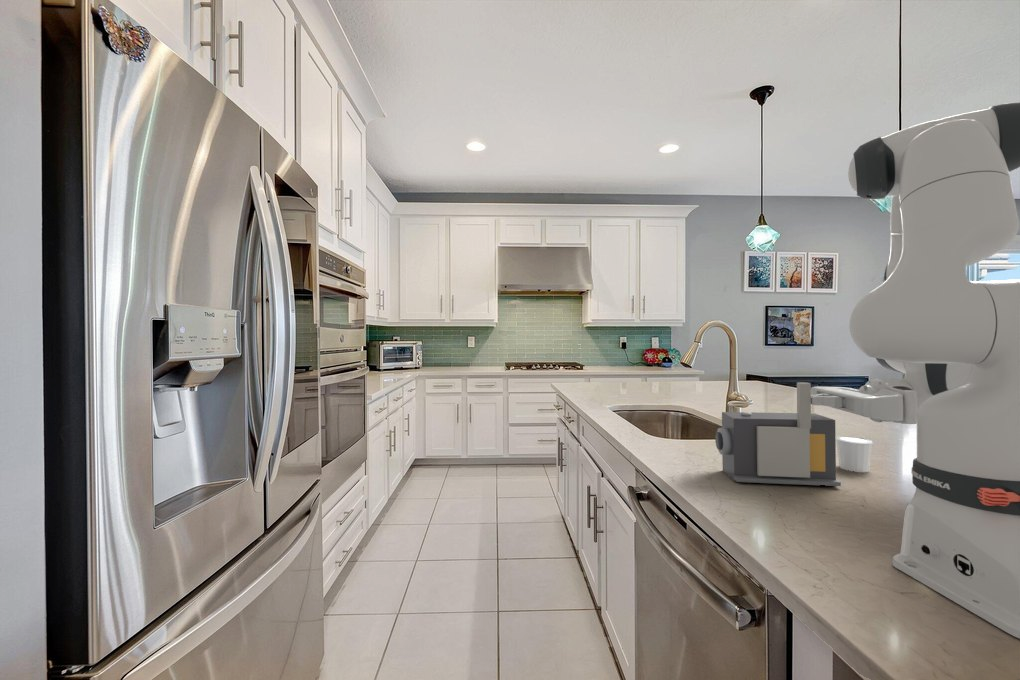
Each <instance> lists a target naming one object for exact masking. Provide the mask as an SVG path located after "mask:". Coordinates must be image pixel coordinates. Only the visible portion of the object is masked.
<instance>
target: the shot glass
mask: <svg viewBox="0 0 1020 680" xmlns="http://www.w3.org/2000/svg"><path fill="white" fill-rule="evenodd" d="M835 438H836V448H837V449H836V450H837V458H838V466H839V468H840V469H842V470H845V471H848V470H849V471H848V472H853V471H854V473H869V472H870V470H871V469H870V468H871V461H872V450H873V440H871V439H867V438H863V437H855V436H835Z"/></svg>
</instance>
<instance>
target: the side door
mask: <svg viewBox="0 0 1020 680" xmlns="http://www.w3.org/2000/svg"><path fill="white" fill-rule="evenodd" d="M811 384H812V383H811V382H796V413H797V427H774V426H757V475H759V476H781V477H807V478H810V429H811V413H812V404H811V388H812V385H811Z"/></svg>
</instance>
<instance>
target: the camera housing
mask: <svg viewBox="0 0 1020 680" xmlns="http://www.w3.org/2000/svg"><path fill="white" fill-rule="evenodd" d="M757 426H774V427H797V412H757V411H756V412H751V411H750V412H749V411H722V412H721V427H718V428H717V430H716V433H715V435H714V438H715V441H714V442H715V446H716V449H717V450H718V453H719V454H720V455H721V456H722V458H721V459H722V462H721V463H722V471H723V473H725V475H727V476H728V477H729V478H730V479H731V481H733V482H734V483H755V484H776V485H777V484H780V485H796V486H797V485H799V486H800V485H801V486H805V485H806V486H820V485H825V486H826V487H841V486H842V485H841V484H842V483H841V481H839V480H838V479H837V463H836V462H837V459H836V457H837V455H836V452H837V451H836V450H837V449H836V448H837V442H836V419H833V418H830V417H827V416H824V415H821V414H819V413H815V412H813V413H812V412H811V429H810V478H807V477H781V476H759V475H757ZM825 486H824V487H825Z"/></svg>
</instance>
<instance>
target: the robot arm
mask: <svg viewBox="0 0 1020 680" xmlns="http://www.w3.org/2000/svg"><path fill="white" fill-rule="evenodd" d="M852 154H853V155H852V158H851V161H850V162H849V166H848V172H847V173H848V182H849V185H850V186H851V188H852V190H853V191H854V192H855V193H856V196H858V197H860V198H862V199H863V200H884V199H886V197H891V202H890V203H891V205H890V215H889V229H890V232H889V233H890V254H889V259H888V262H887V263H886V267H885V268H884V269H885V270H884V275H883V282H882V284H881V285H879V286H877V287H876V288H875V289H873V290H872V291H869V292H868V293H866V295H864V296H863V297H862V298H861V299H860V300H859V301H858V302H857V303H856V305H855V306H854V308H853V310H852V312H851V315H850V318H849V331H850V335H851V338H852V340H853V342H854V343H855V346H856V347H858V349H859V350H860V351H861V352H862V353H863V354H864V355H866V356H868V357H870V358H875V360H876V361H877V363H879V365H881V366H882V367H884V368H886V369H888V370H890V371H895V372H897V373H902V374H904V377H902V378H900V379H893V378H892V379H891V378H890V379H887V378H886V379H884V378H882V379H881V378H879V379H877V378H875V379H874V378H873V379H870V380H868V381H867V382H866V383H865V384H864V385H862V386H860V387H859V388H857V389H856V388H851V387H843V386H819V385H818V386H811V406H812V405H813V406H822V407H829V408H832V409H836V410H840V411H842V412H846V413H849V414H854V415H857V416H860V417H864V418H867V419H868V418H869V419H870V420H871V421H873V422H874V423H879V424H880V423H881V424H882V423H883V424H885V423H886V424H889V423H890V424H891V423H892V424H902V425H916V457H915V458H914V459H913V460H912V467H911V472H910V473H911V475H912V484H913V486H914V487H915V491H914V494H913V496H912V498H911V500H910V501H909V503H907V504H906V507H905V511H904V519H903V526H902V535H901V536H902V537H901V544H900V545H901V546H900V551H899V553H897V554H895V555H893V557H892V562H891V563H892V566H893V567H894V568H895V569H897V570H899V571H901V572H902V573H904V574H906V575H908V576H909V577H912V579H914V580H916V581H918V582H920V583H922V584H923V585H925V586H926V587H929V588H930V589H931V590H933V591H935V592H937V593H938V594H941V595H942V596H944V597H945V598H948V599H949V600H951V601H952V602H954V603H956V604H958V605H959V606H961V607H962V608H964V609H966V610H968V611H970V613H973V614H975V615H976V616H978V617H980V618H981V619H983V620H984V621H987V622H988V623H990V624H991V625H993V626H995V627H997V628H998V629H1000V630H1002V631H1004V632H1005V633H1007V634H1009V635H1011V636H1013V637H1014V638H1017V639H1019V640H1020V279H1007V280H1006V279H1005V280H1004V279H1003V280H1002V279H1001V280H990V281H989V280H987V281H986V280H983V281H976V280H973V281H972V280H969V278H968V275H967V267H969V266H972V265H974V264H978V263H979V262H982V261H984V260H986V259H988V258H990V257H992V256H995V255H997V254H998V253H999V252H1001V251H1003V250H1004V249H1005V248H1007V247H1008V246H1009V245H1010V244H1011V243H1012V242H1013V241H1014V239H1015V238H1016V236H1017V235H1018V231H1019V229H1020V219H1019V215H1018V209H1017V205H1016V200H1015V195H1014V190H1013V186H1012V180H1011V176H1010V172H1012V171H1014V170H1017V169H1019V168H1020V101H1019V102H1008V103H1000V104H995V105H994V104H993V105H991V106H990V107H988V108H986V109H981V110H975V111H970V112H965V113H961V114H955V115H952V116H947V117H943V118H941V119H936V120H930V121H926V122H922V123H918V124H915V125H912V126H910V127H908V128H904V129H901V130H899V131H896V132H893V133H891V134H889V135H886V136H883V137H882V136H878V137H874V138H873V139H871V140H868V141H866V142H865V143H863V144H861V145H859V146H858V147H857V149H856V150H855V151H854V152H853V153H852Z"/></svg>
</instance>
